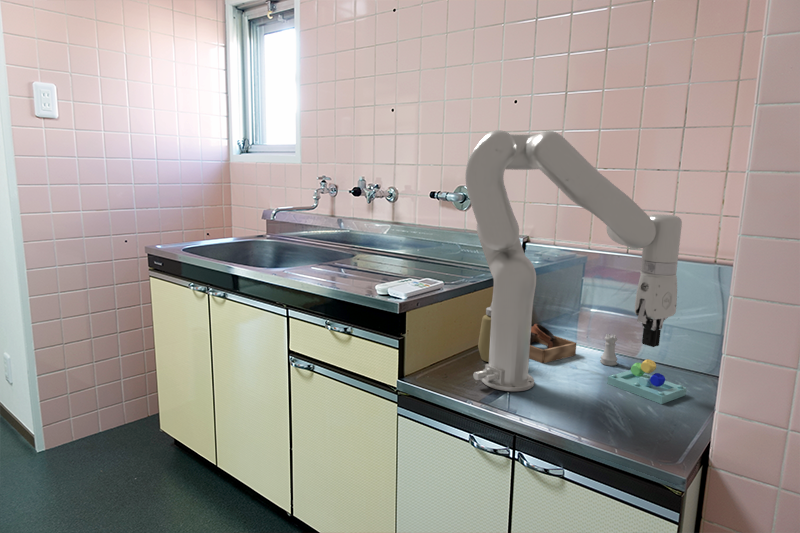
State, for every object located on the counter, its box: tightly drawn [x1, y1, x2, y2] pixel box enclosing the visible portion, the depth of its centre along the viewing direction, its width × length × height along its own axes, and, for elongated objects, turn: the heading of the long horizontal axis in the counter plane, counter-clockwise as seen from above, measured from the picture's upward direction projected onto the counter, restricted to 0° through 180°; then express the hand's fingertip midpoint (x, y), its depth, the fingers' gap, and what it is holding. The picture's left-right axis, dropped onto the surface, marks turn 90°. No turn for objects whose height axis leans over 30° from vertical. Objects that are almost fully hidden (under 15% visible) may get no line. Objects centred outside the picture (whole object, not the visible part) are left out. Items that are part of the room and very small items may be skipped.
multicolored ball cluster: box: [630, 358, 666, 387], centre depth 128 cm, size 8×3×6 cm, turn 33°
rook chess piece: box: [599, 333, 618, 367], centre depth 146 cm, size 4×4×8 cm
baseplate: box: [607, 369, 687, 405], centre depth 129 cm, size 10×14×2 cm
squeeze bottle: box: [477, 302, 492, 363], centre depth 145 cm, size 8×8×18 cm
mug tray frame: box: [529, 335, 577, 364], centre depth 155 cm, size 14×16×4 cm
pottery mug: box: [530, 323, 555, 349], centre depth 156 cm, size 12×9×8 cm
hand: (650, 344), depth 127 cm, fingers closed
